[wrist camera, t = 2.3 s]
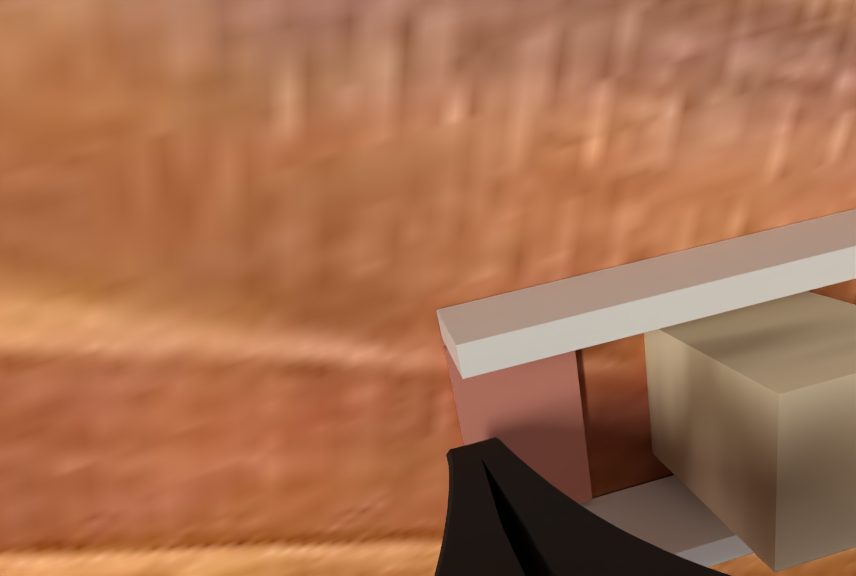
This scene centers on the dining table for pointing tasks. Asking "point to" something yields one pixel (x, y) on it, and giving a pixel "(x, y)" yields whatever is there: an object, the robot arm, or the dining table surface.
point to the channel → (645, 311)
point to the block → (763, 421)
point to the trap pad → (530, 417)
